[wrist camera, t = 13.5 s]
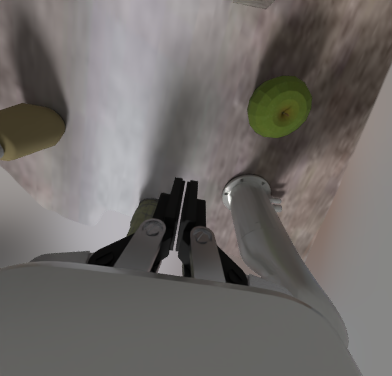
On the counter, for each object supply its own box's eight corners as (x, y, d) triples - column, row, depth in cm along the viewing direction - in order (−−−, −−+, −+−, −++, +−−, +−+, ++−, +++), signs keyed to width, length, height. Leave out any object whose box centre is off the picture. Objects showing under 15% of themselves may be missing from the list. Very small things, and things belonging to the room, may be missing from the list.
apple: (293, 76, 28) (339, 79, 19) (276, 126, 33) (306, 147, 24) (244, 72, 28) (266, 73, 19) (234, 122, 33) (248, 143, 24)
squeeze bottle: (33, 89, 31) (-118, 107, 16) (77, 120, 34) (-17, 159, 19) (24, 122, 34) (-106, 161, 20) (64, 147, 37) (-23, 197, 23)
